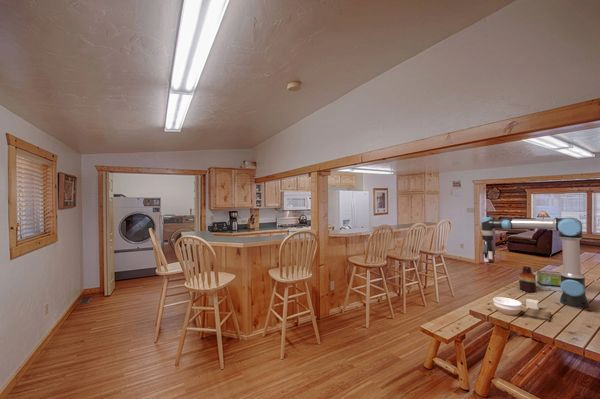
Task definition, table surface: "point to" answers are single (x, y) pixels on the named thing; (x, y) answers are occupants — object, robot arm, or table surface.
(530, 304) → the cube
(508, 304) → the bowl
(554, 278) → the tea box
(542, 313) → the board
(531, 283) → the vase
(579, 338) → the table surface
